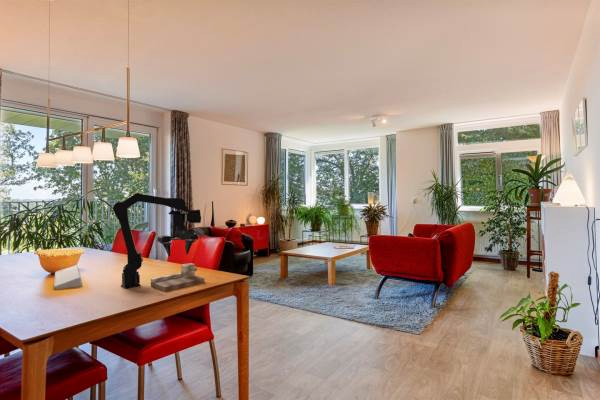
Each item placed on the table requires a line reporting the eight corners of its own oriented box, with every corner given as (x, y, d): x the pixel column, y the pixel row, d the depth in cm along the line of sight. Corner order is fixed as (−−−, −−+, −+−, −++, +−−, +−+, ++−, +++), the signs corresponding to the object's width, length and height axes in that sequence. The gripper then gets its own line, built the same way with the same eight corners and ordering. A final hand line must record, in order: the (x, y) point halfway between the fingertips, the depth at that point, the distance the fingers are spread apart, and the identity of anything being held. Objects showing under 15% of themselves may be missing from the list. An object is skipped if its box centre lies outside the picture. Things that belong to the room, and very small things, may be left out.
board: (164, 291, 146) (164, 283, 146) (150, 286, 155) (150, 278, 155) (204, 282, 161) (204, 275, 161) (189, 277, 170) (189, 271, 170)
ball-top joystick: (191, 280, 157) (191, 267, 157) (181, 277, 164) (181, 264, 163) (200, 278, 161) (200, 265, 161) (190, 275, 167) (190, 263, 167)
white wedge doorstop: (57, 296, 150) (83, 286, 156) (53, 286, 149) (79, 277, 155) (58, 280, 178) (80, 272, 184) (55, 272, 177) (77, 264, 183)
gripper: (168, 225, 151) (167, 260, 152) (204, 223, 165) (204, 255, 165) (157, 224, 159) (156, 256, 159) (192, 222, 173) (192, 252, 173)
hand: (178, 255), depth 164 cm, fingers open, 9 cm apart
